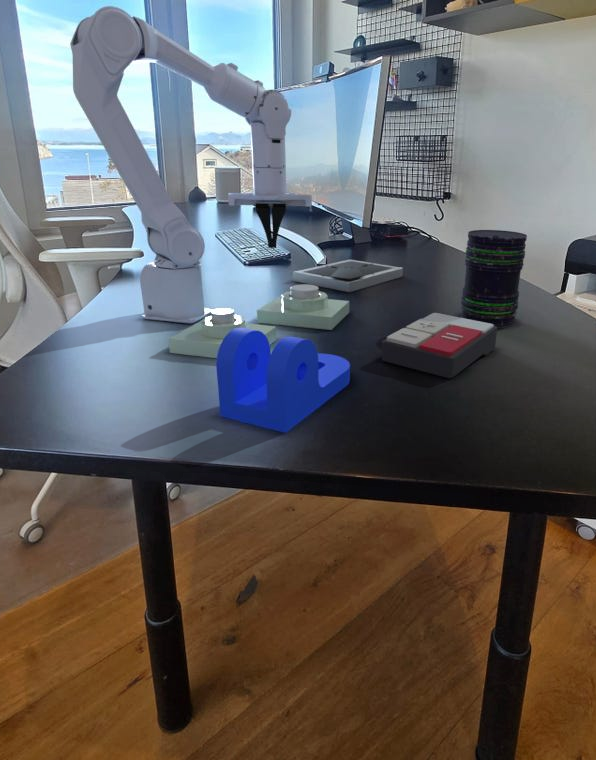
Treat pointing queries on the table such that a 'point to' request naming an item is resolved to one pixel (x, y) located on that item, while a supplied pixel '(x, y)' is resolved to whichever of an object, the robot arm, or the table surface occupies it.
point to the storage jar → (492, 276)
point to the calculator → (440, 344)
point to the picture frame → (347, 275)
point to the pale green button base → (211, 336)
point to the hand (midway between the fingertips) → (272, 246)
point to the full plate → (304, 311)
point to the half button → (222, 316)
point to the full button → (304, 291)
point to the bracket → (275, 379)
